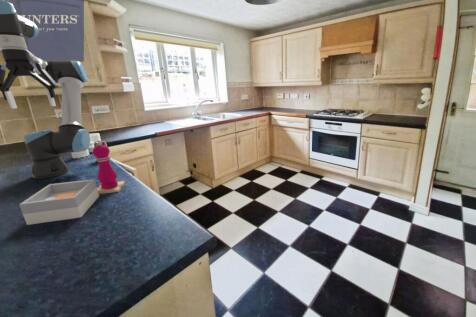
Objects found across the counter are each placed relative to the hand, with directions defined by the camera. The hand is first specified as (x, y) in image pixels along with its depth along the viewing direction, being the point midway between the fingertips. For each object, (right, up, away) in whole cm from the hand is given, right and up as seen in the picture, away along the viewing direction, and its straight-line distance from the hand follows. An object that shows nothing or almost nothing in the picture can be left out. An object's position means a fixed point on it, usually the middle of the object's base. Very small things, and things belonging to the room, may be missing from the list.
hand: (34, 107), depth 90 cm
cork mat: (+27, -34, +7) cm, 44 cm away
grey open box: (+20, -39, -9) cm, 45 cm away
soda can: (-2, -22, +50) cm, 54 cm away
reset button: (+20, -39, -9) cm, 45 cm away
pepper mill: (+27, -33, +7) cm, 43 cm away
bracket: (-23, -17, +68) cm, 74 cm away
